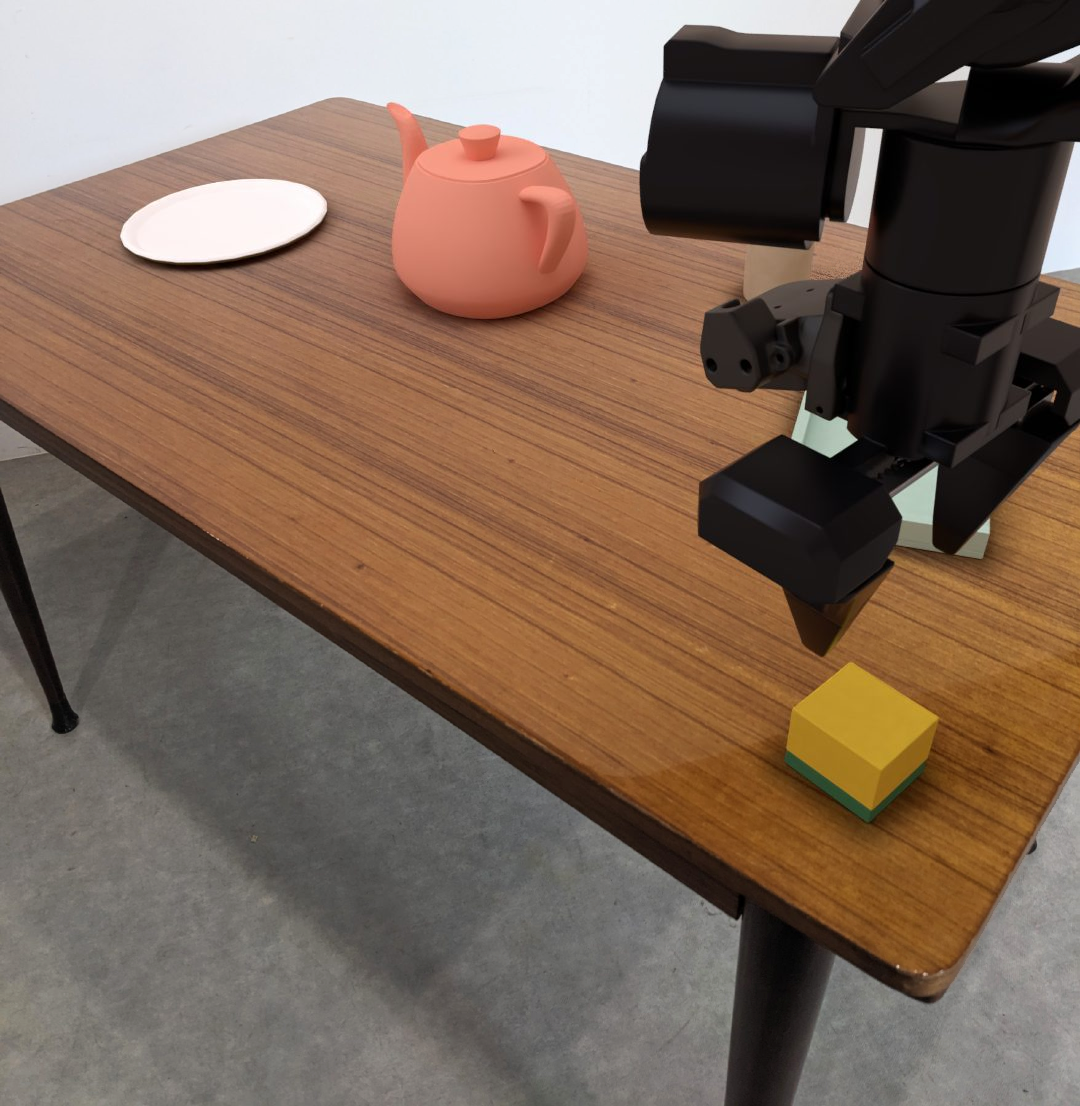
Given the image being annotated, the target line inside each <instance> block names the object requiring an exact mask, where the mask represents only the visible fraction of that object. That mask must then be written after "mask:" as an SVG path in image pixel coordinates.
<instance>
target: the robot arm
mask: <svg viewBox="0 0 1080 1106" xmlns="http://www.w3.org/2000/svg"><path fill="white" fill-rule="evenodd" d="M1077 47H1080V0H859V1H858V3H857V5H856V6H855V8H854V9H853V11H852V13H851V14H850V16H849V17H848V18H847V20H846V22H845V24H844V25H843V27H842V28H841V30H840V32H839V36H836V35H835V36H831V35H807V34H779V33H778V34H776V33H774V34H773V33H752V32H750V33H748V32H739V31H736V30H732V29H729V28H726V27H722V26H718V25H711V24H710V25H709V24H708V25H707V24H706V25H705V24H683V25H682V27H681V28H679V29H678V30H677V32H675V33H674V34H673V35H672V36H671V37H670V38H669V39H668V40H667V41H666V42H665V43H664V45H663V50H662V51H663V53H662V56H663V57H662V79H661V81H660V84H659V87H658V91H657V94H656V96H655V101H654V105H653V109H652V114H651V118H650V124H649V132H648V136H647V146H646V150H645V152H644V153H643V154H642V156H641V158H640V160H639V179H638V180H639V184H638V185H639V202H640V210H641V217H642V220H643V223H644V226H645V229H646V231H648V233H649V234H650V235H653V236H659V237H660V236H662V237H670V238H671V237H672V238H681V239H689V240H701V241H711V242H721V243H731V244H739V245H740V244H742V245H747V244H750V245H760V246H770V247H780V248H790V249H800V250H809V249H810V248H811V246H812V244H813V242H814V241H815V243H816V242H818V243H820V242H821V240H822V237H823V231H824V227H825V221H826V219H828V220H829V222H832V223H841V224H843V223H844V224H846V223H847V222H848V221H849V219H850V216H851V213H852V210H853V205H854V201H855V197H856V193H857V188H858V184H859V178H860V172H861V167H862V161H863V156H864V155H863V154H864V147H865V141H866V131H867V129H873V130H874V129H875V130H881V137H880V145H879V151H878V157H877V158H878V159H877V165H876V172H875V178H874V179H875V180H874V186H873V191H872V198H871V199H872V200H871V205H870V206H871V207H870V212H869V220H868V228H867V234H866V240H865V248H864V252H863V253H864V254H863V260H862V267H861V269H860V270H858V271H856V272H854V273H852V274H851V275H849V276H847V277H843V278H827V279H826V278H825V279H810V280H803V281H795V282H790V283H786V284H783V285H780V286H777V287H775V288H772V289H770V290H768V291H766V292H764V293H762V294H761V295H759V296H757V297H755V298H753V299H751V300H749V301H747V300H746V301H744V302H743V303H741V301H740V299H739V298H731V299H728V300H726V301H724V302H722V303H721V304H719V305H716V306H715V307H713V308H711V309H708V310H706V311H705V312H704V316H703V321H702V330H701V335H700V341H699V342H700V343H699V352H700V358H701V361H702V367H703V370H704V375H705V378H706V379H707V380H708V382H709V383H711V385H712V386H713V387H715V388H716V389H719V390H720V389H721V390H735V391H738V392H740V393H750V394H751V393H754V392H755V391H756V390H757V389H758V390H772V391H773V390H774V391H788V392H789V391H790V392H805V391H806V399H805V408H804V410H806V411H808V412H810V413H813V414H815V415H817V416H819V417H821V418H823V419H825V420H827V421H831V420H833V419H835V418H836V417H839V418H841V419H844V420H846V421H847V430H848V431H849V432H850V433H851V434H852V435H853V436H854V437H855V438H856V439H857V441H855V442H854V443H852V444H851V445H849V446H848V447H846V448H845V449H843V450H841V451H840V452H838V453H837V454H835V455H834V456H832V457H831V458H830V457H828V456H826V455H823V454H821V453H819V452H817V451H815V450H813V449H811V448H809V447H807V446H805V445H803V444H801V443H799V442H797V441H795V440H793V439H791V438H792V437H789V436H788V435H785V434H783V433H781V434H779V435H777V436H774V437H773V438H771V439H769V440H768V441H765V442H763V443H761V444H760V445H758V446H756V447H755V448H752V449H751V450H750V451H748V452H746V453H745V454H743V455H742V456H740V457H739V458H737V459H735V460H733V461H732V462H730V463H728V464H727V465H726V466H723V467H722V468H720V469H719V470H717V471H716V472H714V473H712V474H710V475H708V476H707V477H706V478H704V479H702V480H700V481H699V482H698V495H697V496H698V498H697V499H698V500H697V519H696V520H697V521H696V524H697V525H696V526H697V536H698V537H699V538H701V539H702V540H703V541H705V542H706V543H709V544H710V545H712V546H714V547H715V548H717V549H719V550H720V551H722V552H724V553H725V554H727V555H729V556H730V557H732V558H734V559H736V561H738V562H740V563H742V564H744V565H745V566H747V567H748V568H750V569H752V570H753V571H755V572H756V573H758V574H760V575H762V576H763V577H764V578H767V580H770V581H772V582H773V583H775V584H777V585H778V586H780V587H781V589H782V591H783V595H784V597H785V600H786V603H787V606H788V609H789V611H790V614H791V617H792V619H793V622H794V625H795V627H796V630H797V633H798V637H799V639H800V641H801V644H802V645H803V646H804V648H805V649H807V650H808V651H810V652H812V653H813V654H815V655H817V656H818V657H821V658H825V657H826V656H827V655H830V653H831V652H832V651H833V649H834V648H835V647H836V645H838V643H839V642H840V640H841V639H842V638H843V637H844V635H845V634H846V633H847V631H848V630H849V629H850V627H851V626H852V624H853V623H854V621H855V620H856V619H857V618H858V616H859V615H860V613H861V612H862V611H863V609H864V608H865V607H866V605H867V604H868V603H869V601H870V599H872V597H873V596H874V594H875V593H876V592H877V590H878V589H879V587H880V586H881V585H882V584H883V583H884V581H885V580H886V578H887V577H888V575H889V574H890V573H891V571H892V570H893V569H894V568H895V564H896V563H895V561H893V560H892V559H890V558H889V556H890V555H891V553H892V551H893V550H894V548H895V547H896V546H897V545H896V543H897V542H898V538H899V533H900V528H901V523H902V518H903V517H902V515H901V514H900V512H899V510H898V508H897V507H896V505H895V503H894V501H893V499H892V498H893V497H894V496H895V495H897V494H898V493H900V492H901V491H903V490H904V489H905V488H907V487H908V486H910V485H911V484H912V483H914V482H915V481H917V480H918V479H919V478H921V477H922V476H924V475H925V474H926V473H928V472H929V471H931V470H932V469H934V468H935V467H936V466H938V471H937V481H936V490H935V500H934V510H933V522H932V544H933V546H934V547H935V548H936V549H938V550H940V551H942V552H944V553H943V554H946V555H947V556H955V555H954V554H956V553H957V552H958V551H959V550H960V549H961V548H962V547H963V546H964V545H965V544H966V543H967V542H968V541H969V539H970V538H971V537H972V536H973V535H974V534H975V533H976V532H977V531H978V530H979V529H980V528H981V527H982V526H983V525H984V523H985V522H986V521H987V520H988V519H989V518H990V519H991V517H992V516H993V515H994V514H995V513H996V512H997V511H998V510H999V508H1001V507H1002V506H1003V504H1004V503H1005V502H1006V501H1007V500H1008V499H1010V498H1011V496H1012V495H1013V494H1014V493H1015V492H1016V491H1017V490H1018V489H1019V488H1020V487H1021V486H1022V485H1023V484H1024V483H1025V481H1026V480H1027V479H1028V478H1029V477H1031V475H1032V474H1033V473H1034V472H1035V471H1036V470H1037V469H1038V468H1039V467H1040V466H1041V465H1042V464H1043V463H1044V462H1045V461H1046V460H1047V458H1048V457H1049V456H1051V455H1052V454H1053V452H1054V451H1056V450H1057V448H1058V447H1060V445H1061V444H1062V443H1063V442H1064V441H1065V440H1066V439H1067V438H1068V437H1070V435H1071V434H1073V433H1074V432H1075V431H1076V430H1077V429H1078V428H1079V427H1080V327H1079V326H1077V325H1073V324H1071V323H1068V322H1065V321H1062V320H1058V319H1056V318H1053V317H1052V316H1054V314H1055V311H1056V306H1057V303H1058V299H1059V296H1060V292H1061V289H1062V288H1061V287H1059V286H1057V285H1053V284H1051V283H1047V282H1044V281H1041V280H1040V277H1041V274H1042V270H1043V266H1044V262H1045V258H1046V255H1047V250H1048V246H1049V244H1050V243H1049V242H1050V239H1051V236H1052V231H1053V227H1054V223H1055V221H1056V216H1057V213H1058V208H1059V204H1060V201H1061V197H1062V193H1063V189H1064V185H1065V183H1066V182H1065V181H1066V177H1067V174H1068V169H1069V167H1070V163H1071V160H1072V155H1073V151H1074V149H1075V148H1074V147H1075V144H1076V143H1080V53H1079V54H1077V55H1075V56H1073V57H1071V58H1069V59H1067V60H1065V61H1063V62H1047V61H1043V60H1046V59H1048V58H1051V57H1053V56H1056V55H1059V54H1061V53H1064V52H1067V51H1069V50H1072V49H1074V48H1077ZM964 67H968V68H969V71H968V75H967V78H966V79H963V80H961V79H960V80H948V81H941V80H942V79H944V78H946V77H948V76H949V75H951V74H953V73H955V72H956V71H959V70H960V69H962V68H964ZM1055 391H1056V393H1055ZM1054 394H1055V396H1054ZM1053 396H1054V400H1053ZM1052 400H1053V401H1052Z"/></svg>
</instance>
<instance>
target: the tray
mask: <svg viewBox="0 0 1080 1106" xmlns="http://www.w3.org/2000/svg"><path fill="white" fill-rule="evenodd" d="M805 399H806V391H804V393H803V396H802V400H801V404H800V407H799V411H798V414H797V417H796V420H795V425H794V427H793V431H792V434H791V437H790V438H791V439H793V440H795V441H797V442H799V443H801V444H803V445H805V446H807V447H809V448H811V449H813V450H815V451H817V452H819V453H821V454H823V455H826V456H828V457H830V458H831V457H832V456H834V455H835V454H837V453H838V452H840V451H841V450H843V449H845V448H846V447H848V446H849V445H851V444H852V443H854V442H855V441H857V439H856V438H855V437H854V436H853V435H852V434H851V433H850V432H849V431H848V430H847V421H846V420H844V419H841V418H839V417H836V418H835V419H833V420H831V421H827V420H825V419H823V418H821V417H819V416H817V415H815V414H813V413H810V412H808V411H806V410H804V408H805ZM937 471H938V466H936V467H935V468H934V469H932V470H931V471H929V472H928V473H926V474H925V475H924V476H922V477H921V478H919V479H918V480H917V481H915V482H914V483H912V484H911V485H910V486H908V487H907V488H905V489H904V490H903V491H901V492H900V493H898V494H897V495H895V496H894V497H893V498H892V499H893V501H894V503H895V505H896V507H897V508H898V510H899V512H900V514H901V515H902V517H903V518H902V523H901V528H900V533H899V538H898V542H897V543H896V545H895V546H900V547H904V548H905V547H906V548H911V549H918V550H924V551H930V552H936V553H943V554H945V553H944V552H942V551H940V550H938V549H936V548H935V547H934V546H933V544H932V522H933V510H934V500H935V490H936V481H937ZM990 535H991V517H990V518H989V519H988V520H987V521H986V522H985V523H984V525H983V526H982V527H981V528H980V529H979V530H978V531H977V532H976V533H975V534H974V535H973V536H972V537H971V538H970V539H969V541H968V542H967V543H966V544H965V545H964V546H963V547H962V548H961V549H960V550H959V551H958V552H957V553H956V554H954V555H953V556H959V557H967V558H973V559H979V560H983V558H984V557H985V556H984V555H985V552H986V549H987V544H988V542H989V538H990Z"/></svg>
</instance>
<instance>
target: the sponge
mask: <svg viewBox="0 0 1080 1106" xmlns="http://www.w3.org/2000/svg"><path fill="white" fill-rule="evenodd" d="M939 720H940V716H938V715H936V714H935V713H933V712H932V711H930V710H928V709H927V708H925V707H924V706H922V705H920V704H919V703H918V702H916V701H914V700H912V699H911V698H909V697H908V696H906V695H905V694H903V693H902V692H900V691H899V690H897V689H895V688H894V687H892V686H890V685H889V684H888V683H886V682H884V681H882V680H881V679H880V678H878V677H876V676H875V675H873V674H871V672H868V671H867V670H865V669H863V668H862V667H860V666H858V665H857V664H855V663H854V662H852V661H848V663H847V664H845V665H844V666H843V667H841V668H840V669H839V670H838V671H837V672H836V673H834V674H833V675H832V676H831V677H830V678H828V679H827V680H826V681H824V683H822V684H821V685H819V686H818V687H817V688H816V689H815V690H813V691H812V692H811V693H810V694H808V695H807V696H806V697H805V698H804V699H803V700H801V701H800V702H798V703H797V704H796V705H795V706H794V707H792V708H791V713H790V721H789V728H788V734H787V739H786V740H787V741H786V750H785V756H784V763H785V764H787V765H788V766H789V767H790V768H792V769H793V770H795V771H796V772H797V773H799V774H800V775H801V776H803V777H804V778H805V779H807V780H808V781H810V782H811V783H812V784H814V785H815V786H816V787H818V788H819V789H821V791H823V792H825V793H826V794H827V795H829V796H830V797H831V798H833V799H834V800H836V801H837V802H838V803H839V804H841V805H842V806H844V807H845V808H847V809H848V810H849V811H851V812H852V813H853V814H854V815H856V816H857V817H859V819H861V820H863V821H864V822H865V823H866V824H869V823H870V822H871V821H873V820H874V819H875V818H876V817H877V816H878V815H879V814H880V813H881V812H883V811H884V809H886V808H887V806H889V805H890V804H891V803H892V802H893V801H894V800H895V799H896V798H897V797H899V796H900V795H901V793H902V792H904V791H905V789H907V788H908V787H909V786H910V785H911V784H913V782H914V781H915V780H916V779H917V778H918V777H919V776H921V775H922V774H923V773H924V772H925V768H926V765H927V760H928V758H929V756H930V752H931V747H932V744H933V741H934V737H935V735H936V730H937V727H938V724H939Z"/></svg>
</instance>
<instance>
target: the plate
mask: <svg viewBox="0 0 1080 1106" xmlns="http://www.w3.org/2000/svg"><path fill="white" fill-rule="evenodd" d="M327 201H328V200H326V199H325V198H324V196H323V195H322V194H321V193H320V192H319V191H318V190H316V189H313V188H311V187H310V186H308V185H306V184H302V183H299V182H294V181H290V180H285V179H284V180H283V179H273V178H244V179H243V178H242V179H241V178H240V179H233V180H224V181H217V182H211V183H207V184H202V185H196V186H192V187H190V188H185V189H183V190H179V191H176V192H173V193H170V194H166V196H163V197H161V198H158V199H156V200H154V201H152V202H150V203H148V204H146V205H145V206H144V207H141V208H140V209H138V210H137V211H136V212H134V213H133V214H132V215H131V216H130V217H129V218H128V219H127V220H126V221H125V222H124V224H123V225H122V228H121V232H120V235H119V236H120V240H121V242H122V244H123V247H124V248H125V249H126V250H128V251H129V252H130V253H131V254H133V255H135V256H136V257H138V258H141V259H145V260H148V261H150V262H154V263H159V264H168V265H176V266H196V265H199V266H203V265H214V264H215V265H216V264H222V263H229V262H231V263H232V262H237V261H241V260H245V259H249V258H254V257H258V256H263V255H265V254H268V253H271V252H274V251H277V250H280V249H282V248H285V247H288V246H290V245H292V244H294V243H295V242H297V241H299V240H302V239H303V238H305V237H307V236H308V235H310V234H311V232H313V231H314V230H315V229H317V228H318V227H319V226H320V225H321V224H322V223H323V221H324V219H325V218H326V216H327V214H328V204H327Z"/></svg>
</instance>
